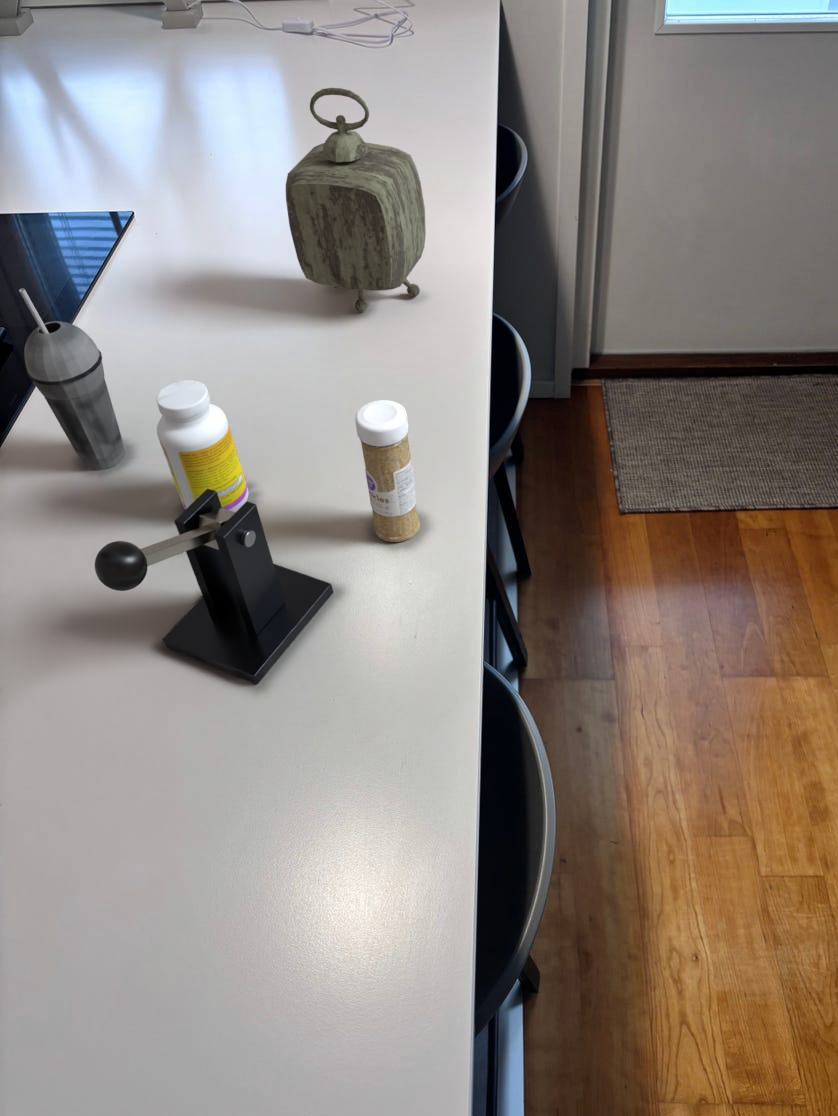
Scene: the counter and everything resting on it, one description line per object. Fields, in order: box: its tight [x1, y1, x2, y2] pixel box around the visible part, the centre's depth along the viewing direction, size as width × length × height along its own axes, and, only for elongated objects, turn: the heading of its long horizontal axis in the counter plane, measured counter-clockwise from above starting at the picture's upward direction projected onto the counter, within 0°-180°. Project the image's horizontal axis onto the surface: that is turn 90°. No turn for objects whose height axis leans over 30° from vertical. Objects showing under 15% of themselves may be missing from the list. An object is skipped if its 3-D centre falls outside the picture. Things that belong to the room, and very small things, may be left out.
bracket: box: [161, 489, 334, 685], centre depth 84 cm, size 12×10×13 cm
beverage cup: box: [18, 288, 126, 471], centre depth 98 cm, size 7×7×20 cm
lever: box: [94, 508, 236, 592], centre depth 76 cm, size 14×4×4 cm, turn 152°
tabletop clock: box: [285, 87, 427, 313], centre depth 115 cm, size 14×9×25 cm, turn 72°
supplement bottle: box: [155, 379, 249, 512], centre depth 95 cm, size 7×7×13 cm
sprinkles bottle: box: [354, 399, 421, 543], centre depth 91 cm, size 5×5×13 cm
